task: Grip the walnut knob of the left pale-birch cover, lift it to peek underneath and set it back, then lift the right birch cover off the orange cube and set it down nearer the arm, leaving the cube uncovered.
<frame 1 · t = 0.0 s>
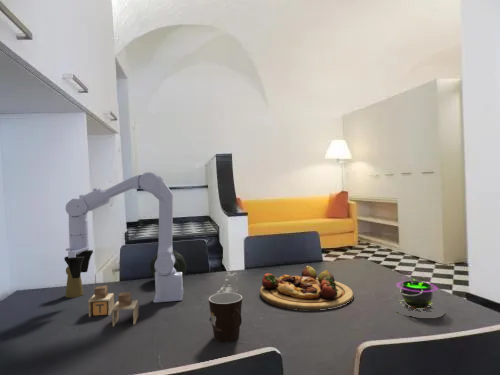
hand: (80, 274, 116), 10 cm above the table, fingers open, 7 cm apart
cork: (74, 295, 127), on the table
toy cauldron: (417, 310, 104), on the table
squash: (168, 281, 143), on the table
cover a: (125, 321, 101), on the table
coffee mug: (226, 340, 87), on the table
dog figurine: (227, 308, 109), on the table
orange cube: (101, 312, 109), on the table
wooden plate with food: (305, 296, 120), on the table
cover b: (101, 312, 109), on the table
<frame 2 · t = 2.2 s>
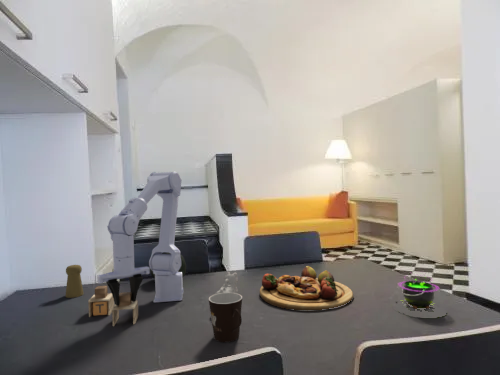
hand: (125, 302, 101), 5 cm above the table, fingers closed on cover a, 4 cm apart
cover a: (125, 321, 101), on the table, touching gripper
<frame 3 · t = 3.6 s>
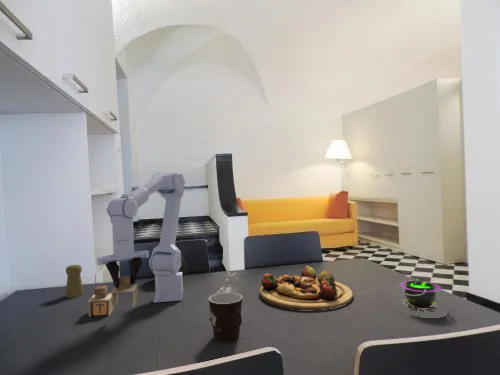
hand: (124, 285, 101), 10 cm above the table, fingers closed on cover a, 4 cm apart
cover a: (125, 304, 101), point 5 cm above the table, touching gripper
when the fingers open (7 cm above the table, at t = 5.2 s): cover a drops 1 cm, on the table.
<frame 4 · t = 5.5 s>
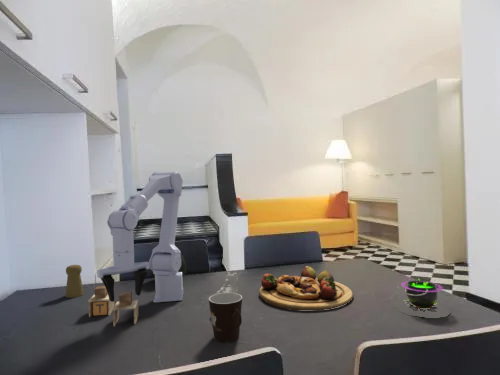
hand: (125, 297, 101), 7 cm above the table, fingers open, 7 cm apart
cover a: (126, 321, 101), on the table
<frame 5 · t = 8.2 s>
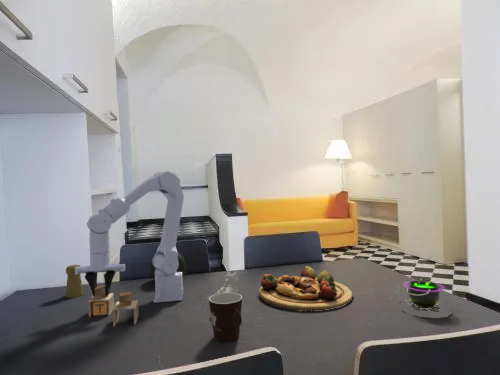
hand: (101, 295, 108), 5 cm above the table, fingers closed on cover b, 3 cm apart
cover b: (101, 312, 109), on the table, touching gripper
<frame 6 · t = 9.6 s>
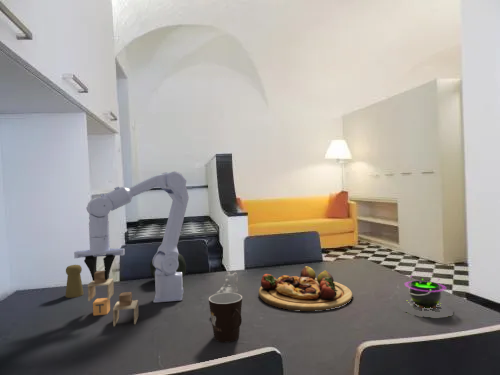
hand: (100, 279, 108), 10 cm above the table, fingers closed on cover b, 3 cm apart
cover b: (101, 297, 108), point 5 cm above the table, touching gripper
when the fingers open (7 cm above the table, at t = 11.5 s): cover b drops 1 cm, on the table.
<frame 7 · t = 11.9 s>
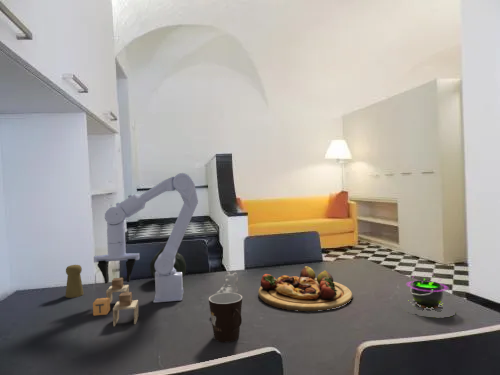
hand: (117, 281, 118), 7 cm above the table, fingers open, 6 cm apart
cover b: (118, 302, 118), on the table
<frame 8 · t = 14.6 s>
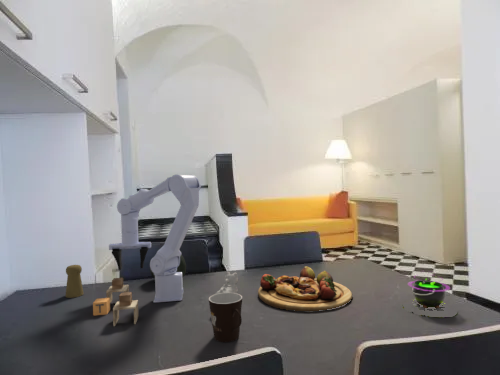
hand: (131, 268, 126), 9 cm above the table, fingers open, 7 cm apart
at the end: cover b inside the target area (0.3 cm from its centre), on the table; orange cube moved 0.1 cm from its start; cover a moved 0.2 cm from its start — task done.
